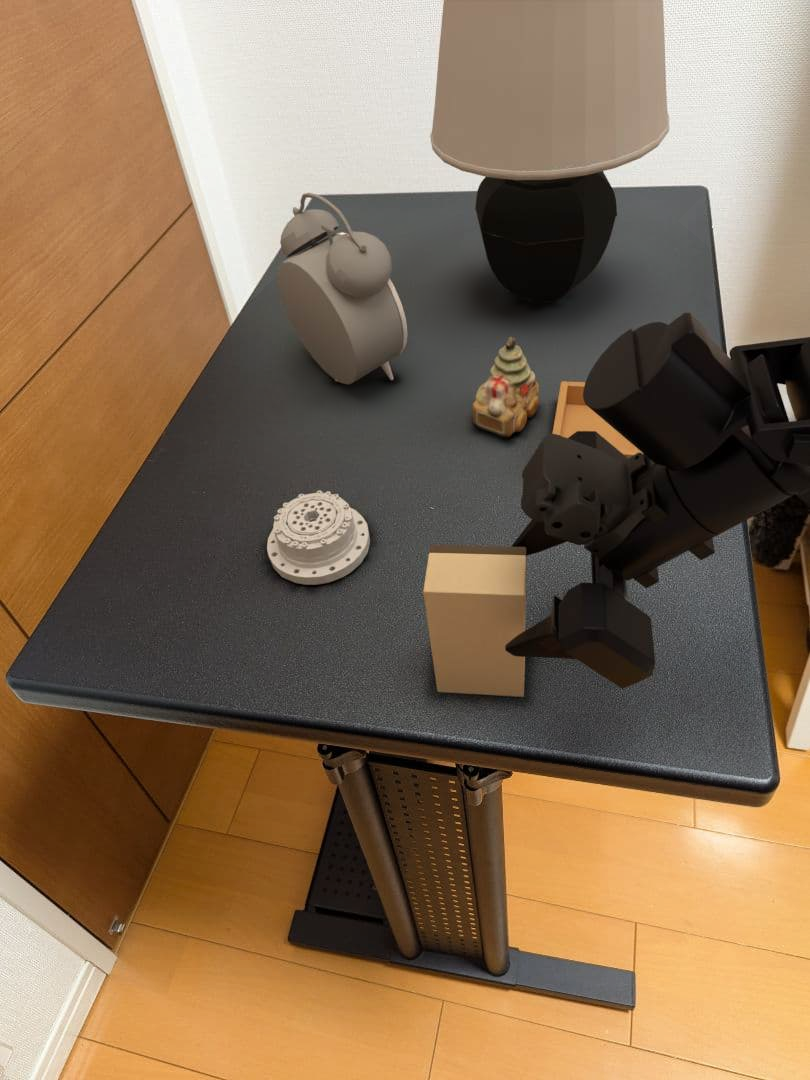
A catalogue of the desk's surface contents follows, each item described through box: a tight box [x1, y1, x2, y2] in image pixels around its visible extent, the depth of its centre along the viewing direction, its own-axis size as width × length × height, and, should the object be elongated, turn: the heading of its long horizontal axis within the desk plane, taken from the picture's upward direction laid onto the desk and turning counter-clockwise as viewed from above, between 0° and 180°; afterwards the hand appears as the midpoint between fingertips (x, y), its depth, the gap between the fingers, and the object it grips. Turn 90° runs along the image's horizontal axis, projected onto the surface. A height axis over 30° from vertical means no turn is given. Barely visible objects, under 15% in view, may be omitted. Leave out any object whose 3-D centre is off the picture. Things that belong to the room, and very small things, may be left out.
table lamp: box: [429, 0, 670, 304], centre depth 89 cm, size 27×27×40 cm
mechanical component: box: [266, 490, 371, 586], centre depth 74 cm, size 10×4×10 cm
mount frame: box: [551, 380, 643, 459], centre depth 81 cm, size 12×12×3 cm
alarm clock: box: [277, 192, 409, 385], centre depth 88 cm, size 16×9×22 cm, turn 37°
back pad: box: [422, 544, 527, 698], centre depth 59 cm, size 4×7×13 cm, turn 82°
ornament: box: [471, 336, 540, 438], centre depth 83 cm, size 8×6×10 cm
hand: (512, 599), depth 56 cm, fingers open, 9 cm apart
